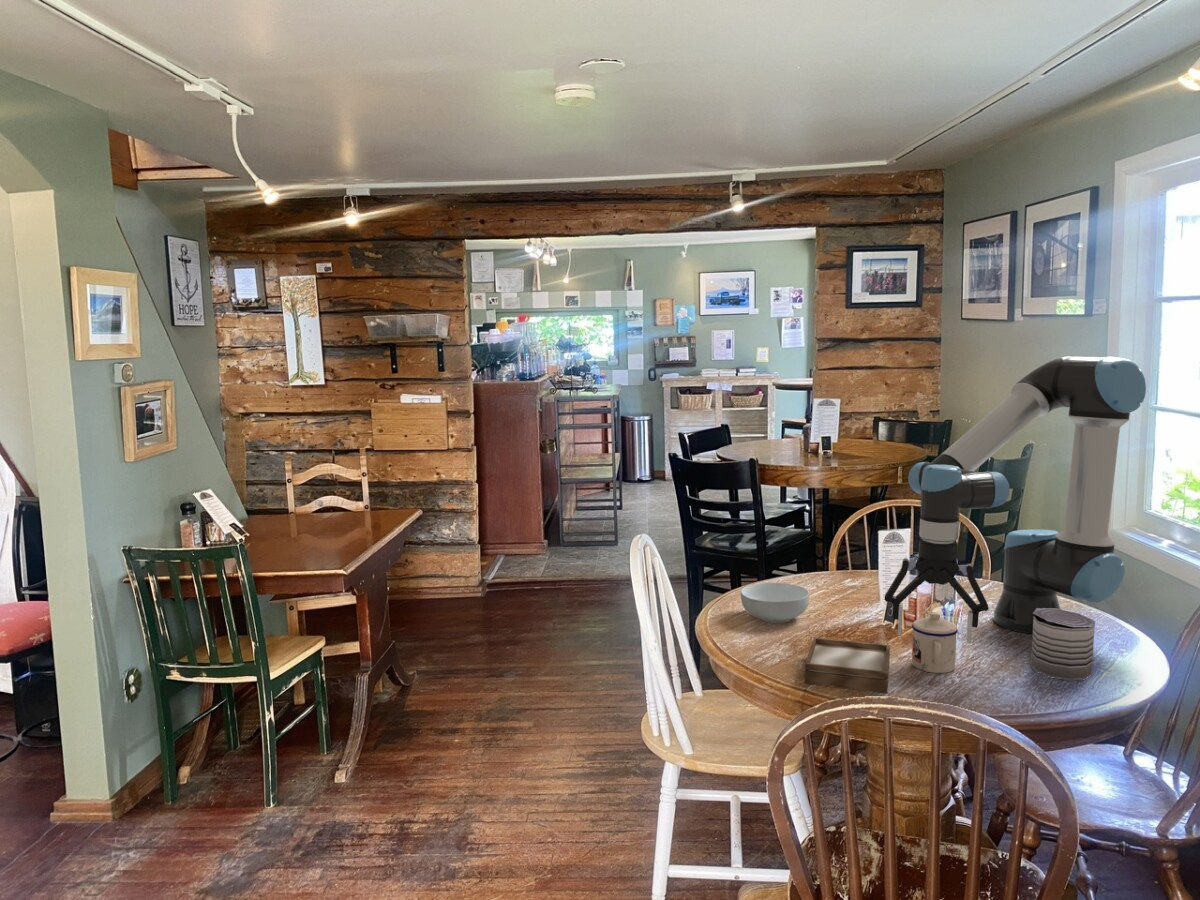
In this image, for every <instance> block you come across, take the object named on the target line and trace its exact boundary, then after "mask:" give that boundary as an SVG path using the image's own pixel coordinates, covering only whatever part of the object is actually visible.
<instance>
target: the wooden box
mask: <svg viewBox="0 0 1200 900" xmlns="http://www.w3.org/2000/svg"><path fill="white" fill-rule="evenodd" d="M890 649H891V644H884V643H882V644H881V643H874V642H864V641H863V642H862V641H853V640H843V639H842V640H841V639H833V638H824V637H822V638H821V637H813V639H812V642H811V646H810V648H809V651H808V654H807V657H806V660H805V665H804V670H805V671H804V684H806V683H807V685H815V686H822V687H823V686H824V687H831V688H832V687H833V688H839V689H840V688H841V689H848V690H856V691H857V690H859V691H865V692H874V693H883V694H888V686H889V676H890V675H889V672H890V655H891V653H890V652H891V651H890Z"/></svg>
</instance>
